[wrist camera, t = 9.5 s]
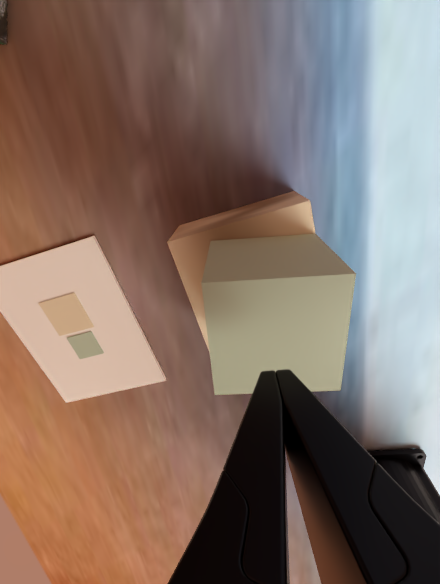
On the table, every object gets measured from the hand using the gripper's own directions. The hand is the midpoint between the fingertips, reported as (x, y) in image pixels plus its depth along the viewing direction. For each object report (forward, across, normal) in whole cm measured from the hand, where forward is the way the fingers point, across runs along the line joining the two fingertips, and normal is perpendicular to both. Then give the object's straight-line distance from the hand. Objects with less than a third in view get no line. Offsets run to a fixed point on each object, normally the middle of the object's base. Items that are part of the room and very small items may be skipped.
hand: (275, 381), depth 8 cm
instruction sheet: (+11, +13, +4) cm, 17 cm away
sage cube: (+7, 0, 0) cm, 7 cm away
